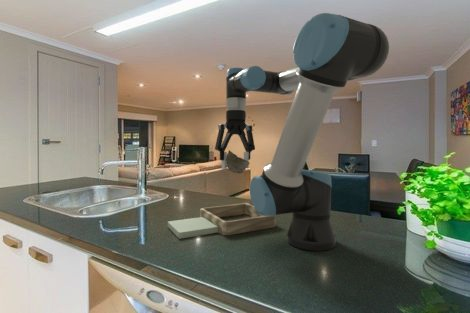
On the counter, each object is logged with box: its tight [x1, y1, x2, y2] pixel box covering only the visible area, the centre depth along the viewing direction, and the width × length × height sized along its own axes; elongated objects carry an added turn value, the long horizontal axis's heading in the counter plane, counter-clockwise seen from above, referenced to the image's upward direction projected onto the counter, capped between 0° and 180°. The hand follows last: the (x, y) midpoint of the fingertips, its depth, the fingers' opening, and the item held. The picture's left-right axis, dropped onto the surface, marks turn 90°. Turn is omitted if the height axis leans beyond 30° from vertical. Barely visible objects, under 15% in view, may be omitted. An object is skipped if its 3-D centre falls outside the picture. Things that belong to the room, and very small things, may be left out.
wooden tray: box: [199, 202, 277, 236], centre depth 108 cm, size 22×22×4 cm
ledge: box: [167, 216, 219, 240], centre depth 99 cm, size 14×14×2 cm
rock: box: [226, 149, 251, 174], centre depth 104 cm, size 11×6×10 cm
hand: (235, 168), depth 107 cm, fingers closed on rock, 9 cm apart
